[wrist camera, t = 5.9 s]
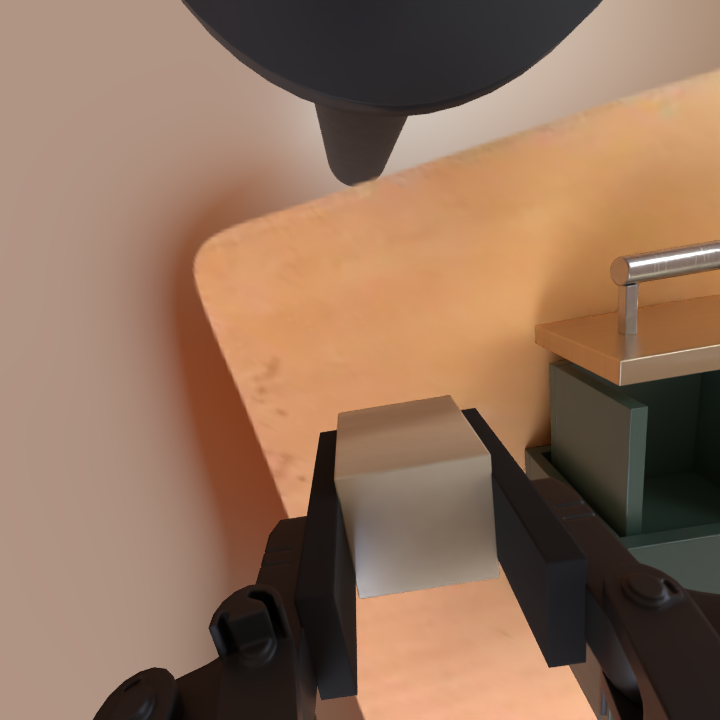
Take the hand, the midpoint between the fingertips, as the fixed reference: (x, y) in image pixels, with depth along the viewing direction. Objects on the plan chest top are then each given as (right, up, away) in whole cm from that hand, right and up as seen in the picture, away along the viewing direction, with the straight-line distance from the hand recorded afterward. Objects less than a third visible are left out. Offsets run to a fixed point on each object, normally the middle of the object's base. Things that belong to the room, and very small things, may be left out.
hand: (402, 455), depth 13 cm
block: (0, 0, 0) cm, 0 cm away
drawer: (+16, +2, +11) cm, 19 cm away
